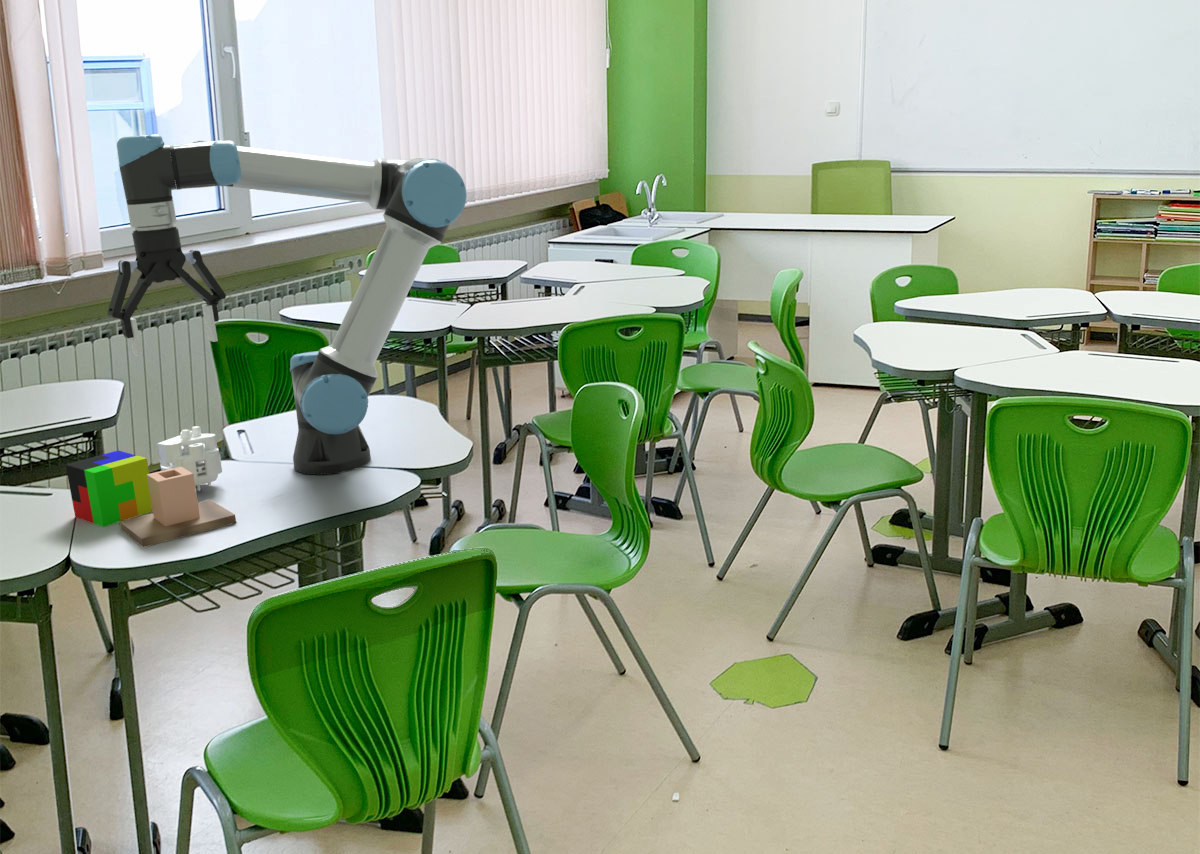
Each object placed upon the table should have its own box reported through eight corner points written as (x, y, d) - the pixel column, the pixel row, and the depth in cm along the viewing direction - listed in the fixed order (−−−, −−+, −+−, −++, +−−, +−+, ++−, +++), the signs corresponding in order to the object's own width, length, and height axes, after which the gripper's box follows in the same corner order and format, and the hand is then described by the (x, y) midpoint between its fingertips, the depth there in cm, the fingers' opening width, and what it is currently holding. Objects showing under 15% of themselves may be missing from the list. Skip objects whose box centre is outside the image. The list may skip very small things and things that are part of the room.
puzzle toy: (126, 501, 219) (118, 450, 216) (155, 510, 212) (146, 458, 210) (75, 517, 211) (65, 464, 209) (103, 527, 205) (93, 473, 202)
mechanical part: (213, 474, 232) (204, 417, 229) (234, 488, 223) (225, 428, 220) (155, 487, 226) (146, 428, 223) (174, 502, 216) (165, 440, 213)
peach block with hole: (153, 518, 203) (146, 474, 201) (187, 509, 207) (181, 466, 205) (165, 526, 199) (158, 481, 197) (200, 517, 202) (193, 473, 200)
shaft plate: (211, 507, 212) (204, 462, 210) (236, 522, 203) (229, 476, 201) (120, 529, 203) (112, 483, 201) (143, 547, 194) (134, 498, 192)
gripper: (87, 238, 191) (112, 364, 197) (232, 219, 206) (251, 336, 212) (72, 236, 196) (97, 359, 202) (214, 217, 212) (233, 332, 218)
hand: (176, 348), depth 207 cm, fingers open, 13 cm apart
